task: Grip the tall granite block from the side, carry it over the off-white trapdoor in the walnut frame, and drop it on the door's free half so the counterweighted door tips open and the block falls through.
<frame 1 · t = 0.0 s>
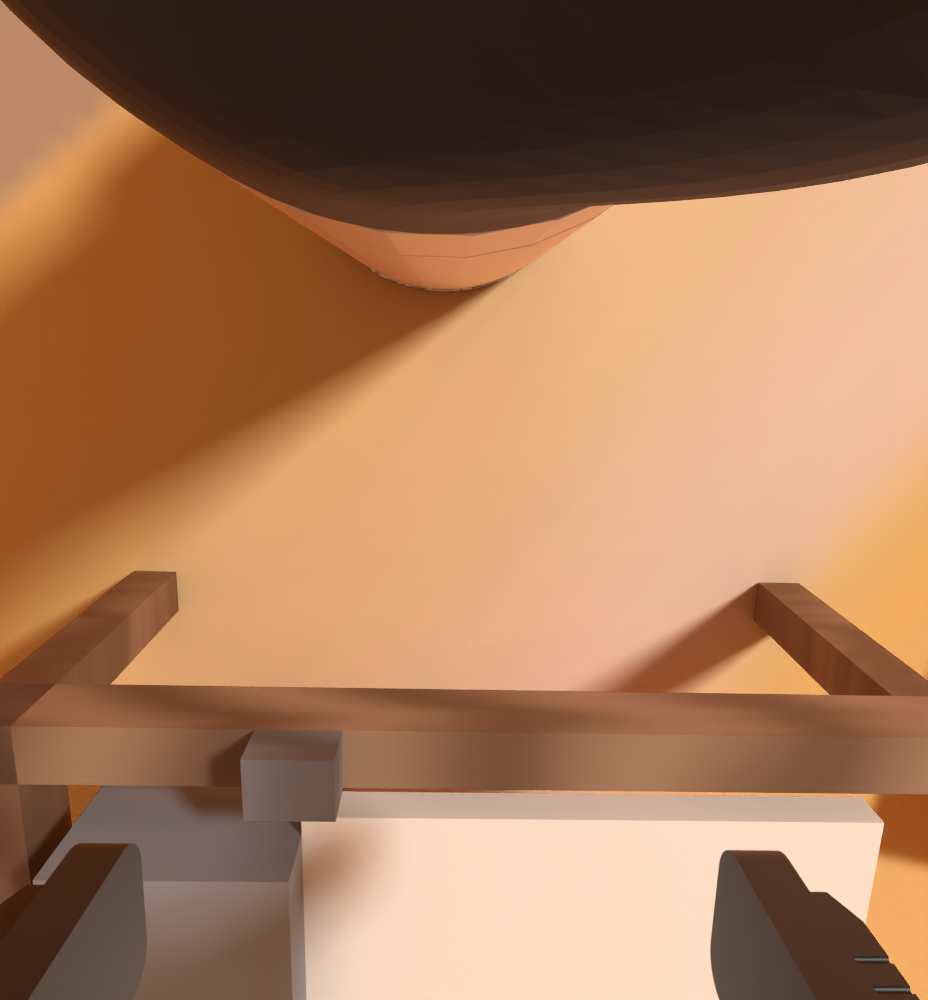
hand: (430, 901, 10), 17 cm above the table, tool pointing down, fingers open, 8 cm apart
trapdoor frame: (532, 799, 30), on the table
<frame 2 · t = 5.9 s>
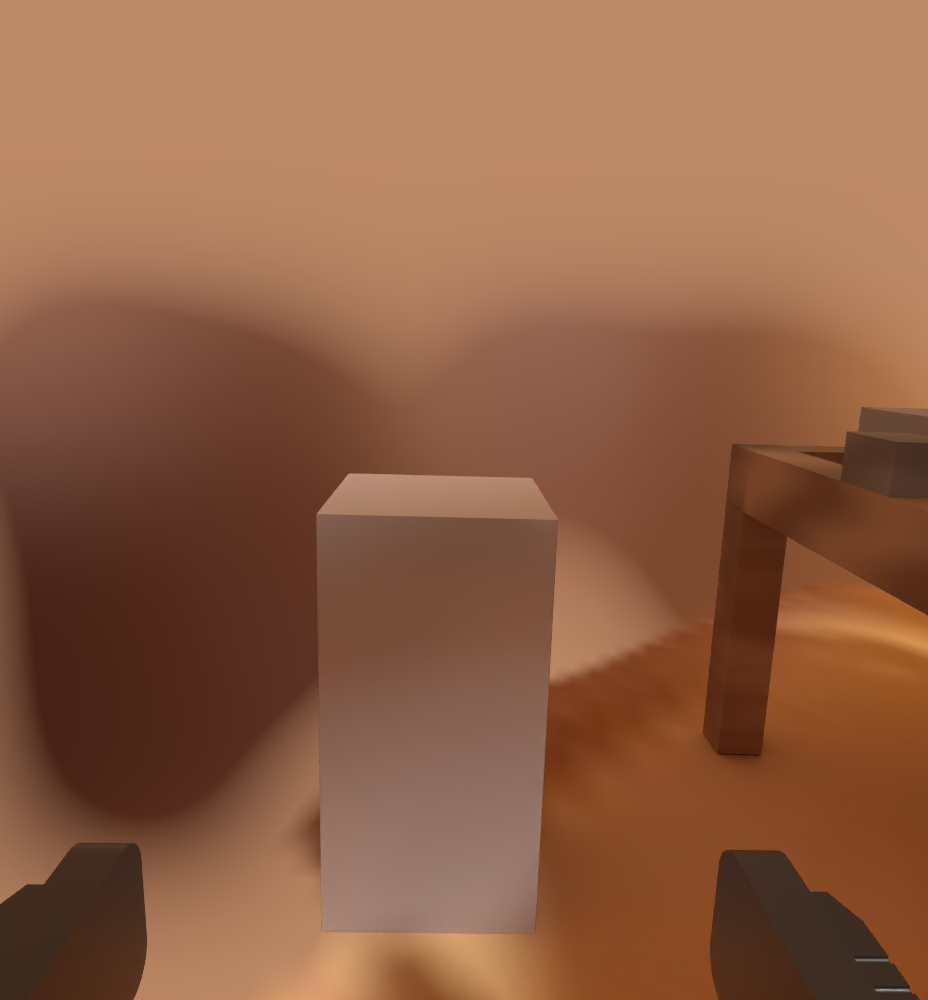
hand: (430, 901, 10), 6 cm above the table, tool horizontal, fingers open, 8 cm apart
granite block: (431, 860, 20), on the table
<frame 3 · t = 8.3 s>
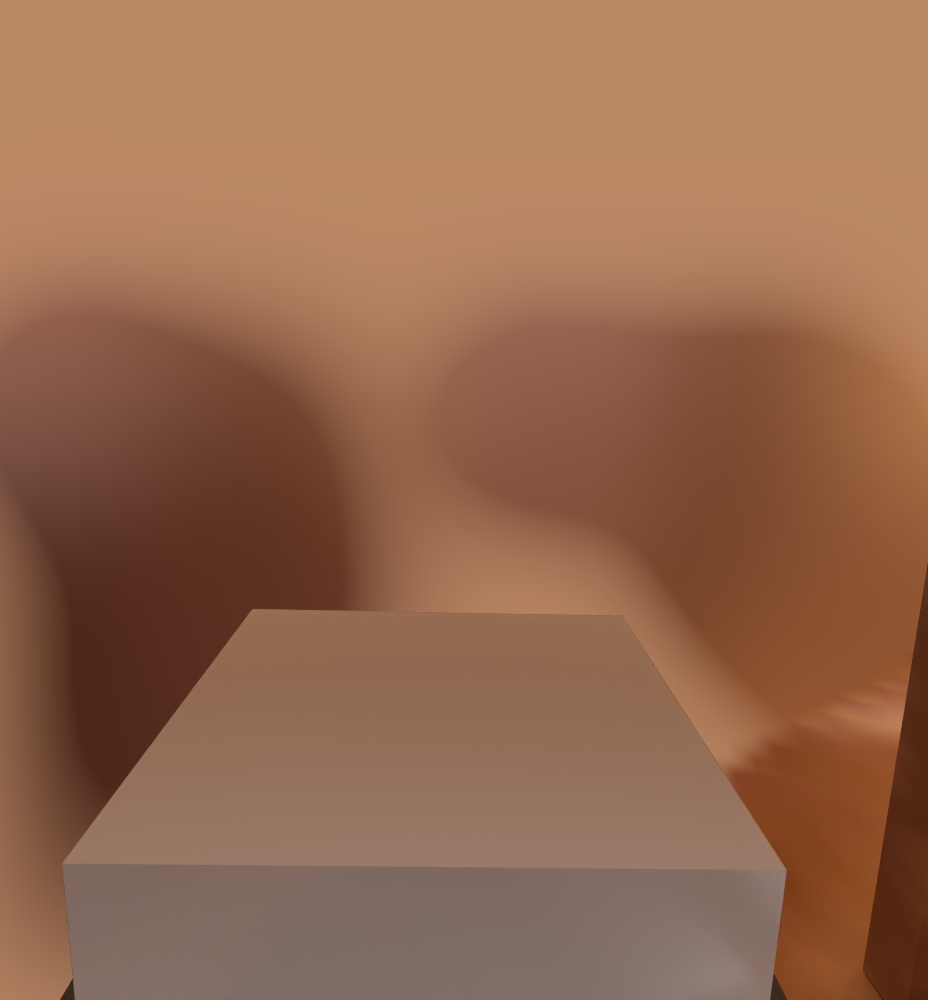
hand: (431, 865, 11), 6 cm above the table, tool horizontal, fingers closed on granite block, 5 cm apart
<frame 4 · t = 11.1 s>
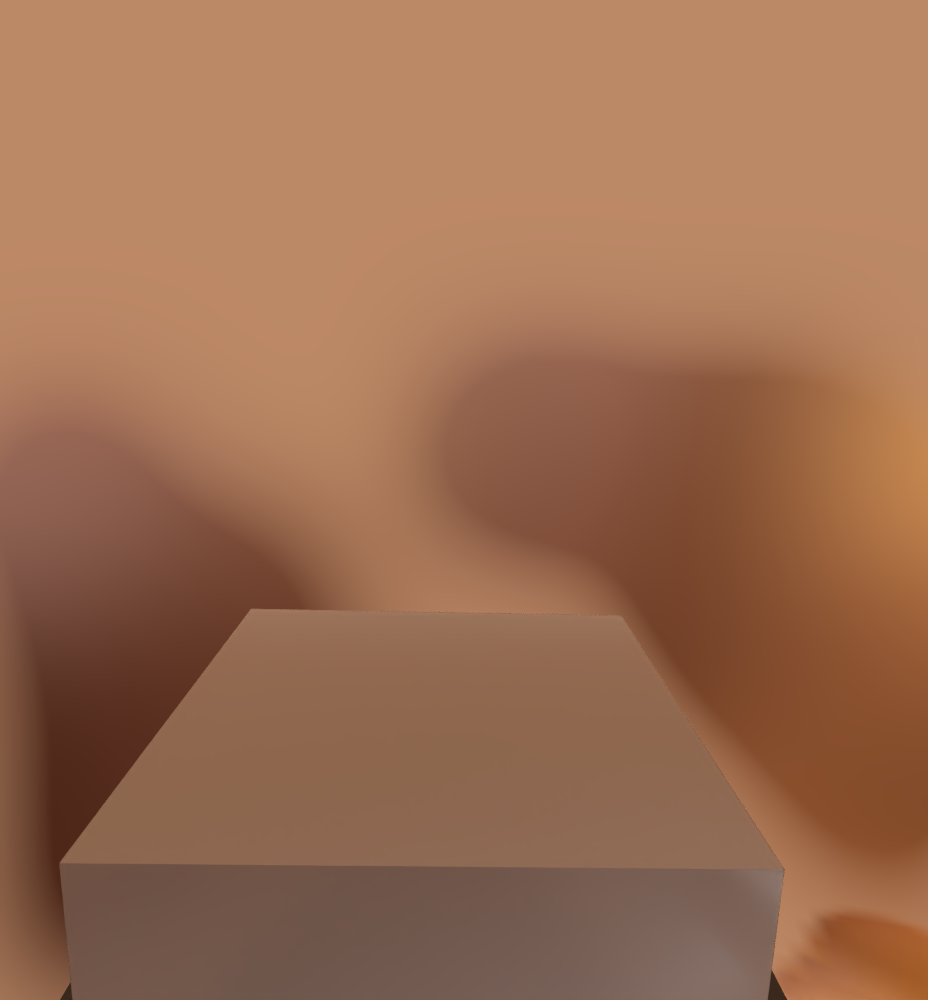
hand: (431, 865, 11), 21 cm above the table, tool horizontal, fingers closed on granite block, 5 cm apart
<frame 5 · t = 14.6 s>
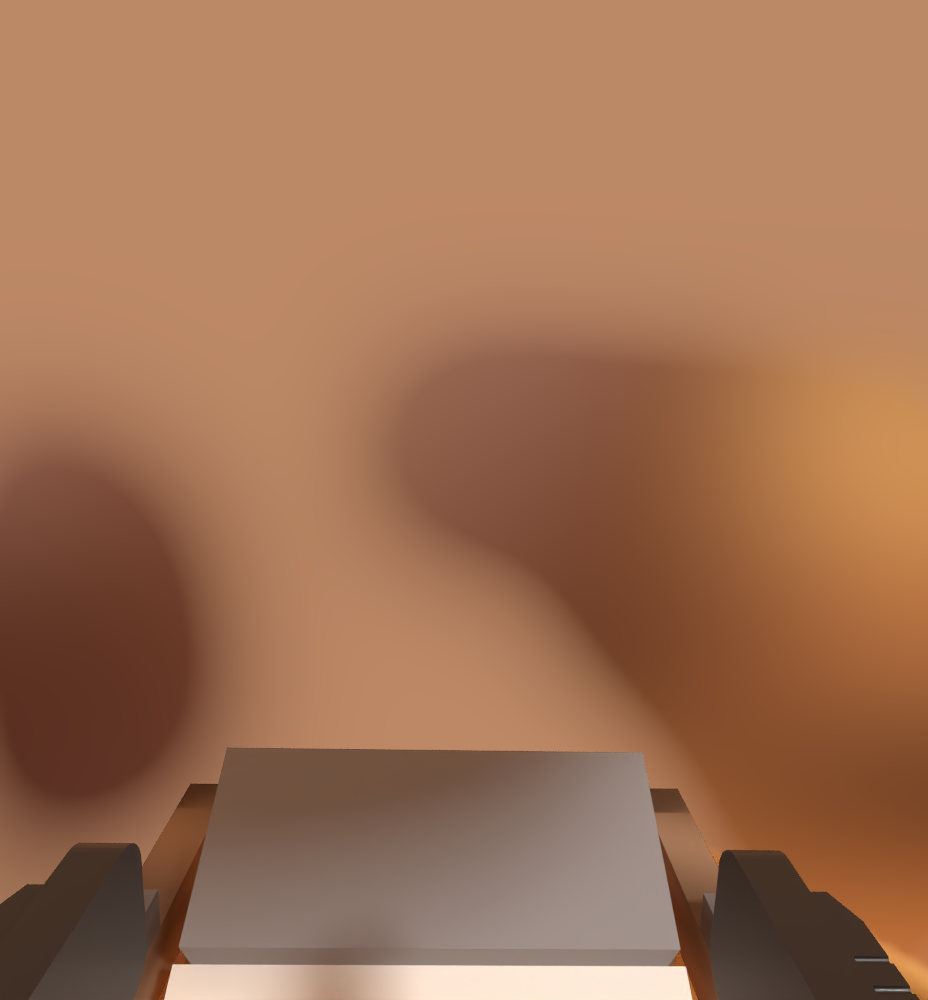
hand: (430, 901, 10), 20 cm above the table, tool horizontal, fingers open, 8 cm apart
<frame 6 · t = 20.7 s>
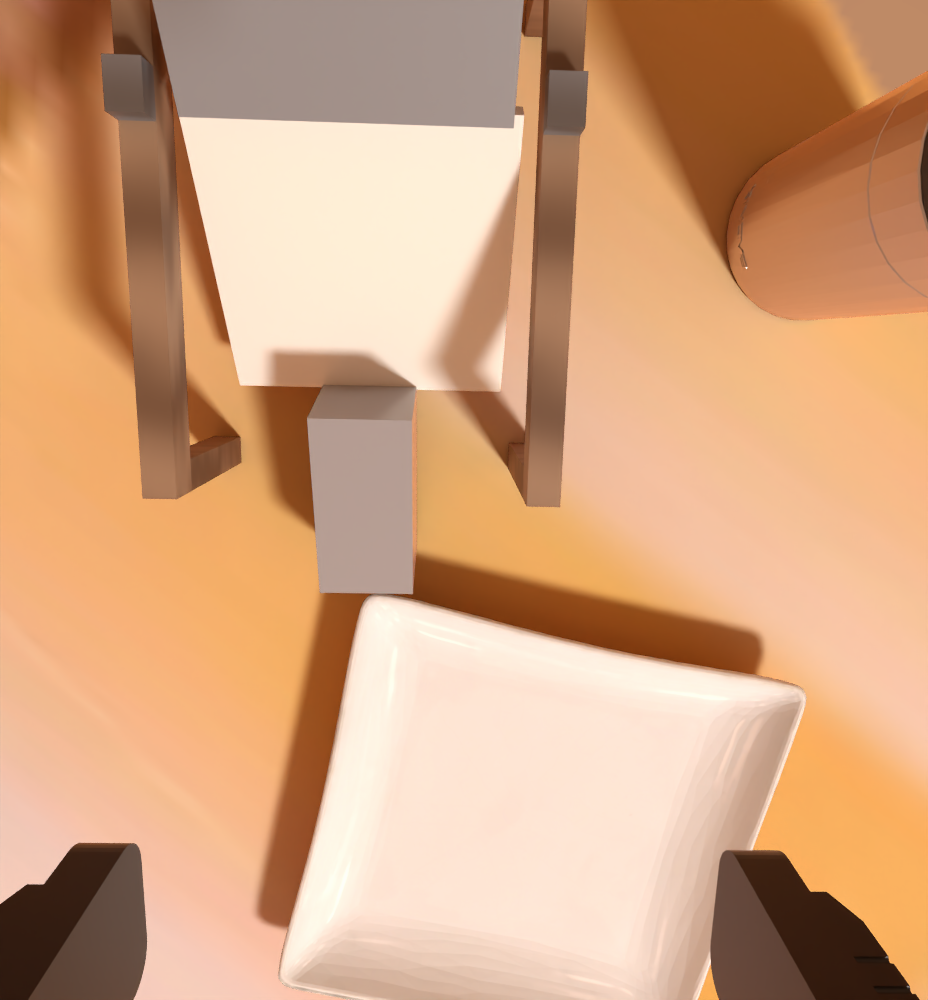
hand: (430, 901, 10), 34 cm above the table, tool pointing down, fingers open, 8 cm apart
granite block: (365, 401, 38), point 5 cm above the table, tilted 106°, touching trapdoor
square plate: (527, 807, 49), on the table
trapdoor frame: (375, 297, 41), on the table
trapdoor: (359, 207, 33), point 8 cm above the table, hinge at -34.0°, touching granite block
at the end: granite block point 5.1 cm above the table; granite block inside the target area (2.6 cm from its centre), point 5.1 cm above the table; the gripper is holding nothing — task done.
